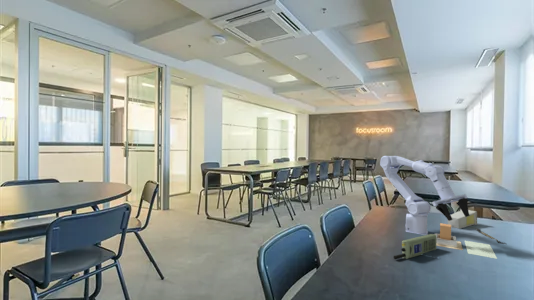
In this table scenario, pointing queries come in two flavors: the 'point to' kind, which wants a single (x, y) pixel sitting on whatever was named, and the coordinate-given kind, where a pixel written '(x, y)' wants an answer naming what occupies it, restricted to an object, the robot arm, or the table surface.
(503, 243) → the adjustable wrench
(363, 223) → the table surface
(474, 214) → the block
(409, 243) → the handheld radio
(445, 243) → the grey square ring
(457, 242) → the base plate
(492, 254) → the mat
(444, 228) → the plug
